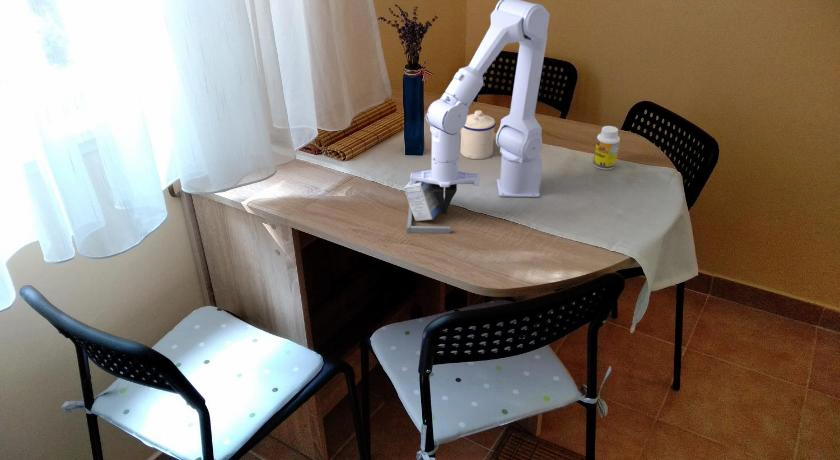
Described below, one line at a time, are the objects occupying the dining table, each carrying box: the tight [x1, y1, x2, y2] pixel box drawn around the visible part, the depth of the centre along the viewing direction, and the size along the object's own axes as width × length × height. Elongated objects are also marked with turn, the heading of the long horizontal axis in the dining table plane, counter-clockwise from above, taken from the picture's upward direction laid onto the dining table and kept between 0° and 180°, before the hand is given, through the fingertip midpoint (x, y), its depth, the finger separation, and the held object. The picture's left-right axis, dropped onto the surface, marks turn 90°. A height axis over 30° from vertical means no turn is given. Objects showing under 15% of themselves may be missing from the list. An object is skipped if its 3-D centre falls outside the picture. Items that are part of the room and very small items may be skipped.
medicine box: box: [403, 169, 441, 222], centre depth 140 cm, size 8×4×9 cm, turn 156°
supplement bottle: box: [592, 125, 621, 171], centre depth 159 cm, size 6×6×10 cm
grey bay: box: [406, 203, 451, 234], centre depth 141 cm, size 9×13×1 cm
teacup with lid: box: [459, 110, 496, 160], centre depth 167 cm, size 12×9×12 cm
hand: (443, 212), depth 140 cm, fingers closed
